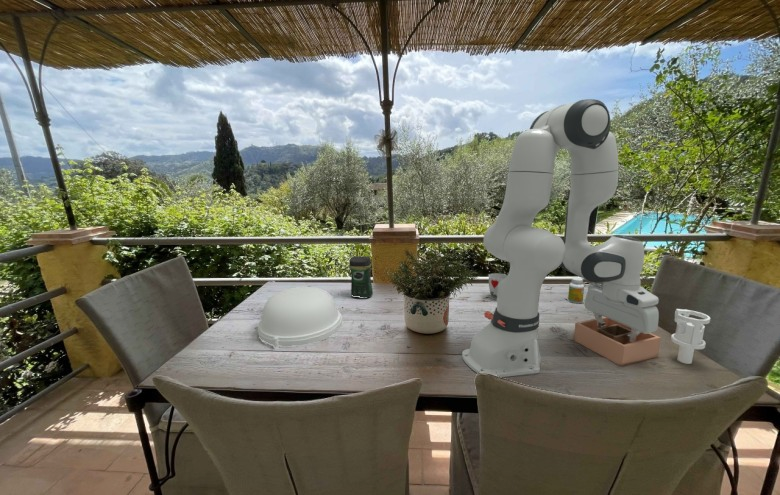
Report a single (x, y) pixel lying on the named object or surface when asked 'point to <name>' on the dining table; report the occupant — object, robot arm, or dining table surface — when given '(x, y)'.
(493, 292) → the cup
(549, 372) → the dining table surface
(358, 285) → the coffee jar
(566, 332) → the dining table surface
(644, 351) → the big crate
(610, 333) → the small crate
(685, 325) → the white plastic connector
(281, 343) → the dome cover
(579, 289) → the supplement bottle
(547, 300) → the dining table surface
